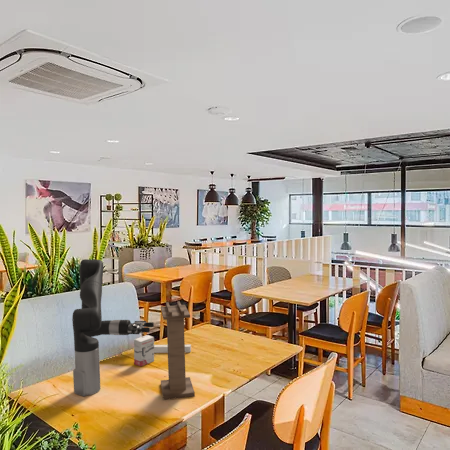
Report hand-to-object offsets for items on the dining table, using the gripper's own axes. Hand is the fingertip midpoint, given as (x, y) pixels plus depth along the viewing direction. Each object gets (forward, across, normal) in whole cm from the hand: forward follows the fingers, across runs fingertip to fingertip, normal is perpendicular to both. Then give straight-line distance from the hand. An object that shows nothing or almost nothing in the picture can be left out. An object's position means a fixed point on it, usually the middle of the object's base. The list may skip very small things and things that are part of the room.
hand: (151, 327), depth 198 cm
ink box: (0, -14, +13) cm, 19 cm away
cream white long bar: (+8, 0, +13) cm, 15 cm away
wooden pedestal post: (+20, -42, +12) cm, 48 cm away
